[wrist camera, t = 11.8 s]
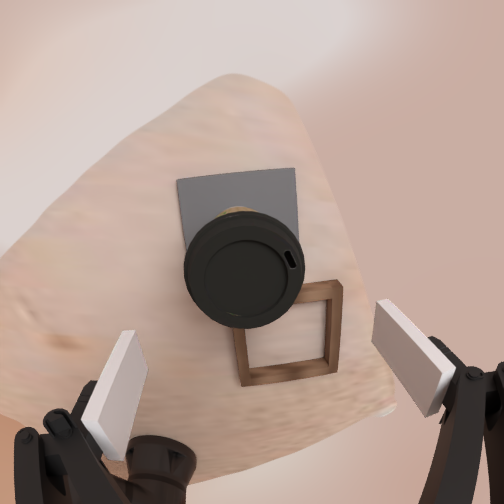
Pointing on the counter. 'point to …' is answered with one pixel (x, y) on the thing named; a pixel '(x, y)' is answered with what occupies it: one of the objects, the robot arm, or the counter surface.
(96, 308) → the counter surface
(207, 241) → the coffee cup
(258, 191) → the trivet mat
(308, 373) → the walnut collar
